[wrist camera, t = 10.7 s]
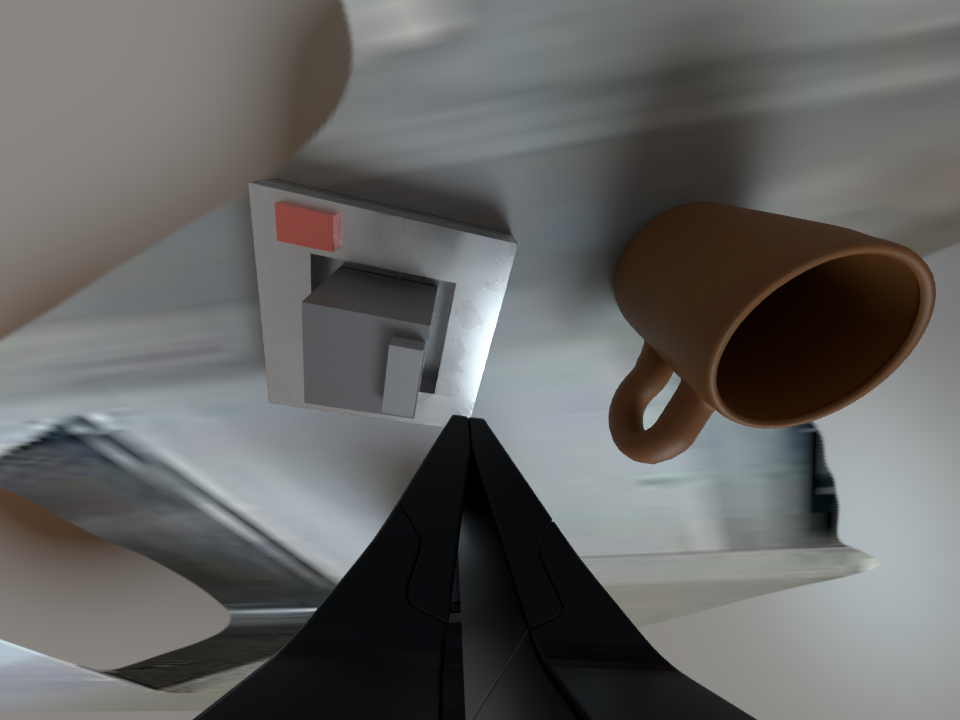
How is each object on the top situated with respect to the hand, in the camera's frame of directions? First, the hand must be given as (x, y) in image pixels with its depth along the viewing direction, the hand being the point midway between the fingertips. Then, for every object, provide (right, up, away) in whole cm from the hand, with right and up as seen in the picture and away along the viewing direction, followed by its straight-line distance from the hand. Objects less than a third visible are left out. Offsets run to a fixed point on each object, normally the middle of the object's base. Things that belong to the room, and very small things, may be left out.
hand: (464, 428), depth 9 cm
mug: (+10, +5, +12) cm, 17 cm away
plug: (-5, +4, +11) cm, 13 cm away
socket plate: (-5, +4, +12) cm, 13 cm away
